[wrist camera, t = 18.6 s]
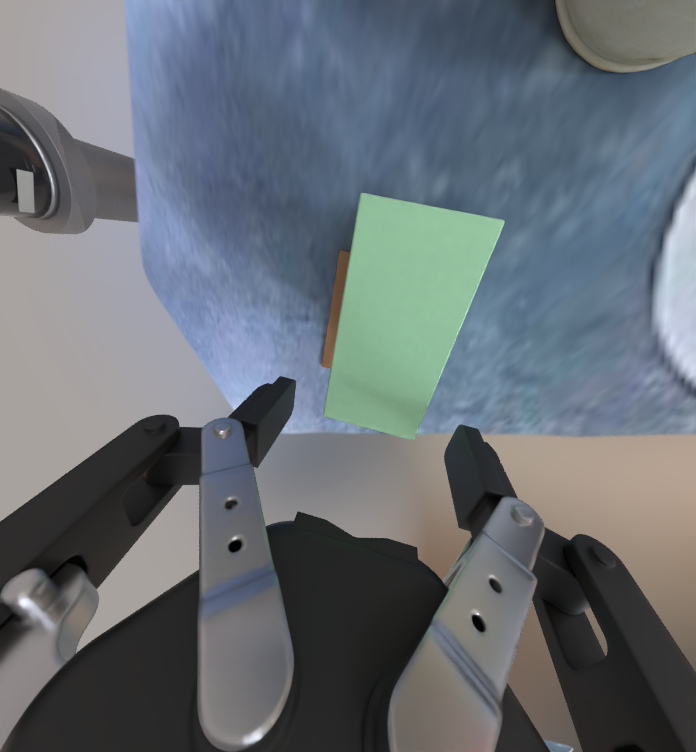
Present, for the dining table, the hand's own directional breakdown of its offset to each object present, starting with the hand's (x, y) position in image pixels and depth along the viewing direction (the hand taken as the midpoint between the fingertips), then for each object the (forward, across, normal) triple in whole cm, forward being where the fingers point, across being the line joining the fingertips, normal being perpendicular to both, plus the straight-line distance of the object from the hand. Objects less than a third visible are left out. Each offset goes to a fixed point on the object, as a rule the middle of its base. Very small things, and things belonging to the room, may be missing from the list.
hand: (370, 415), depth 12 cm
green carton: (+8, 0, +1) cm, 8 cm away
